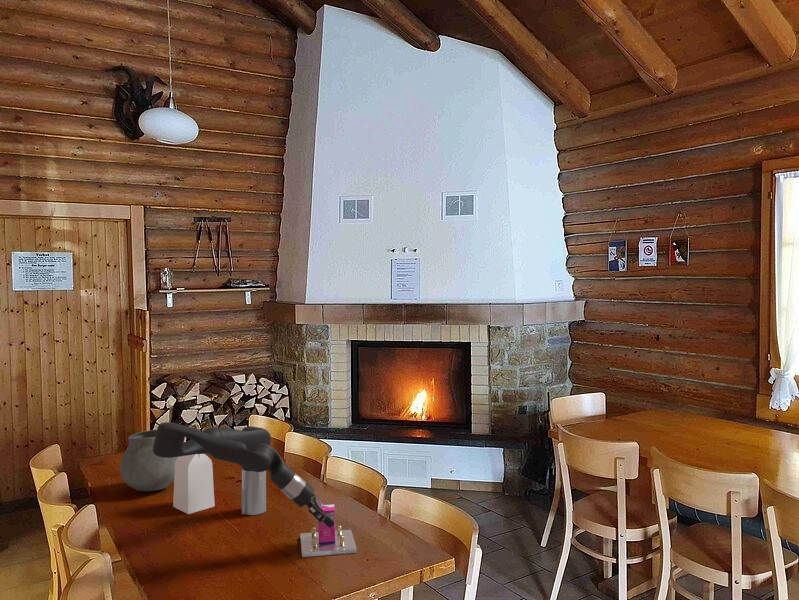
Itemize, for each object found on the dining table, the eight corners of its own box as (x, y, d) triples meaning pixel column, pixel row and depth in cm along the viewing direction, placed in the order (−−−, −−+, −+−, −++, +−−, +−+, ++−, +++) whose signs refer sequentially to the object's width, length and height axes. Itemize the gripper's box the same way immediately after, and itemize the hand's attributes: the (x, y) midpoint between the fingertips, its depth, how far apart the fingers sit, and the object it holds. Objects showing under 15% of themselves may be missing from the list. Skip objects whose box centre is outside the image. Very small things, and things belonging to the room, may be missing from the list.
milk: (173, 506, 250) (172, 442, 249) (199, 499, 258) (198, 437, 258) (188, 514, 242) (187, 447, 241) (214, 506, 250) (214, 442, 250)
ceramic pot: (136, 480, 283) (135, 425, 283) (189, 480, 283) (188, 426, 282) (109, 498, 259) (108, 439, 258) (167, 499, 258) (166, 439, 257)
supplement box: (318, 537, 216) (318, 504, 216) (335, 536, 217) (335, 504, 217) (318, 544, 210) (317, 510, 210) (335, 543, 211) (335, 510, 211)
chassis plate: (302, 557, 204) (301, 543, 204) (300, 537, 220) (300, 525, 220) (356, 552, 207) (356, 539, 207) (351, 533, 223) (351, 521, 223)
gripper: (289, 491, 218) (322, 521, 220) (290, 505, 204) (325, 537, 206) (304, 475, 218) (337, 505, 221) (306, 488, 204) (341, 520, 207)
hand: (331, 520), depth 214 cm, fingers open, 8 cm apart
